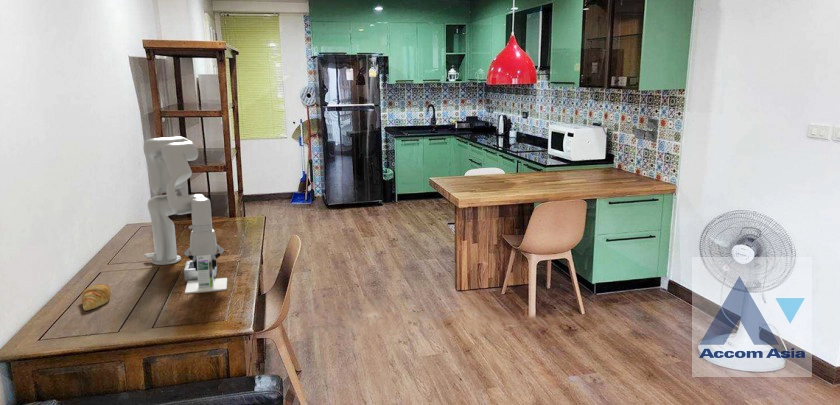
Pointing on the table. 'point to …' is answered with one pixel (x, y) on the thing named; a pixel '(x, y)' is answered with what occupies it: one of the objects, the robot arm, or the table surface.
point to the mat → (217, 286)
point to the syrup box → (205, 271)
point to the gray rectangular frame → (194, 272)
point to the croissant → (95, 296)
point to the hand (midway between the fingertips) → (205, 268)
